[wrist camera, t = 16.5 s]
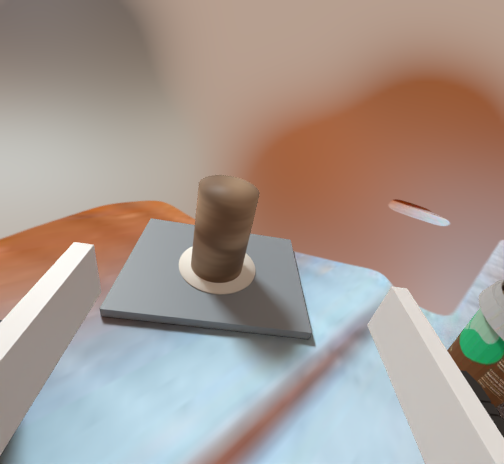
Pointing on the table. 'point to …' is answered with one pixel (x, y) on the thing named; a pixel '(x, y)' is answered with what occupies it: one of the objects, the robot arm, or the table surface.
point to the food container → (484, 344)
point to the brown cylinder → (222, 227)
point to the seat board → (209, 286)
